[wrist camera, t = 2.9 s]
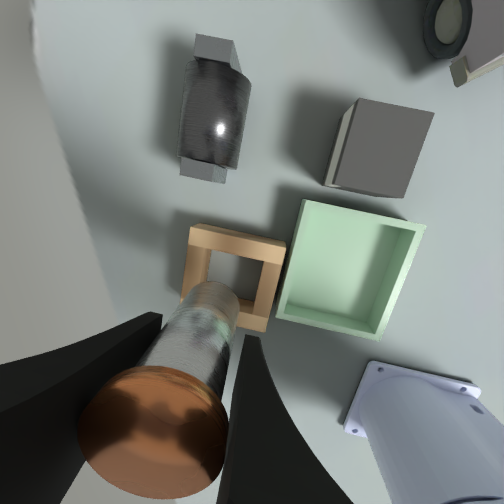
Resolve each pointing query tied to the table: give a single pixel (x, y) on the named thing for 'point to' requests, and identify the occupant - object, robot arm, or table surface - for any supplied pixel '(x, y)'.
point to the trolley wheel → (212, 110)
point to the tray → (345, 269)
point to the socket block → (243, 245)
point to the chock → (376, 148)
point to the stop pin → (168, 404)
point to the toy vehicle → (466, 35)
